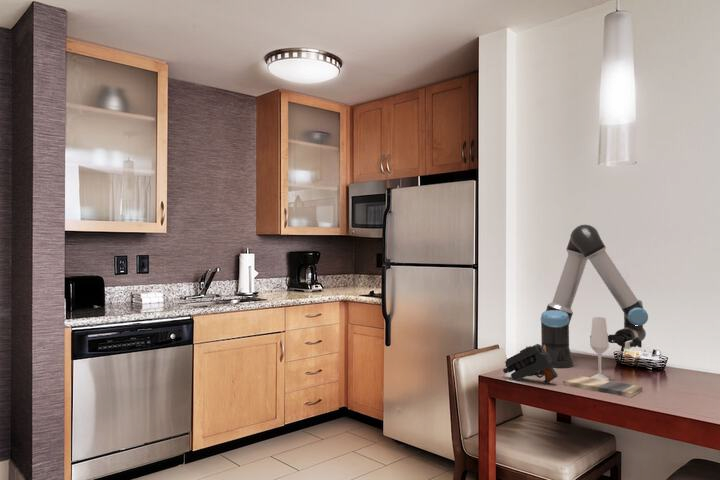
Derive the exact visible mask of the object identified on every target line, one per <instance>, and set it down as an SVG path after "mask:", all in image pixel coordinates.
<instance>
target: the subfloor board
mask: <svg viewBox="0 0 720 480" xmlns="http://www.w3.org/2000/svg"><path fill="white" fill-rule="evenodd" d="M562 385H563V386H568V387H573V388H578V389H583V390H588V391H595V392H598V393H599V392H600V393H605V394H610V395H611V394H612V395H617V396H622V397H626V398H632V397H634V396H636V395H637V394H640V393H641V392H643V386H640V385H636V384H629V383H623V382H618V381H613V380H601V379H595V378H591V377H588V376H583V375H576V374H575V375H574V376H571V377H569V378H566V379H564V380H562Z"/></svg>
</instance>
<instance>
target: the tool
mask: <svg viewBox="0 0 720 480" xmlns="http://www.w3.org/2000/svg"><path fill="white" fill-rule="evenodd" d="M530 346H531V345H529V346H526V347H527V348H526V347H525V348H523V349H521V350H519V352H518V353H516V354H514V355H512V356H510V357H509V358H507V359H506V361H505V368H503V369H502V372H503V373H504V374H507V373H509V374H510V373H511V372H512V373H511V374H510V377H511V378H512V380H513V381H515V380H516V381H518V380H520V379H523V378H526V377H529V376H528V375H531V374H533V373H535V374H536V375H535V376H536V377H537V378H542V377H544V380H542V382H543V383H544V385H547V384H549V383H550V382H551V381H554V379H557V377H558V376H559V375H558V373H557V372H556V370H555V369H554V367H552V366H551V365H553V360H552V358H551V356H550V354H549V353H548V352H545V351H542V350H543V349H542V344H539V343H536V344H535V345H532V346H531V347H530ZM538 371H539V372H541V374H543V373H544V375H538V374H537V372H538Z"/></svg>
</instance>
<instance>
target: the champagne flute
mask: <svg viewBox="0 0 720 480" xmlns="http://www.w3.org/2000/svg"><path fill="white" fill-rule="evenodd" d="M591 321H592V322H591V331H590V335H591V342H590V341H589V345H590V348H591V349H592V351H594V352H595V353H596V354H597V362H598V363H597V367H598V368H597V372H598V373H596V374H594V375H592V376H590V378H595V379H601V380H607V381H610V378H609V377H608V376H606V375H604V374H603V372H602V355H603V354H604V353H605V352H606V351H607V350H608V349H609V347H610V343H609V342H608V336H609V334H608V328H607V327H608V326H607V319H606V317H601V316H600V317H599V316H598V317H597V316H594V317H592V320H591ZM607 334H608V335H607Z"/></svg>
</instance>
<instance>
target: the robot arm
mask: <svg viewBox="0 0 720 480" xmlns="http://www.w3.org/2000/svg"><path fill="white" fill-rule="evenodd" d="M570 233H571V234H570V237H569V241H568V244H567V246H566V252H567V257H566V260H565V263H564V266H563V269H562V272H561V275H560V278H559V281H558V284H557V286H556V289H555V290H556V291H555V293H554V296H553V299H552V301H551V302H549V303H548V304H547V306H546V310H544V311H542V313H541V316H540V321H541V322H540V325H541V326H540V327H541V328H540V329H541V332H540V333H541V336H540V337H541V340H540V341H541V346H542V349H543V346H544V345H545V347H546V352H548V353H549V354H550V356H551V358H552V360H553V365H551V366H552V368H563V369H564V368H571V367H574V366H575V364H574V363H575V362H574V361H575V360H574V358H573V355H572V354H573V353H572V352H571V349H570V323H571V321H572V317H573V313H574V312H573V309H572V305H573V303H574V301H575V297H576V295H577V292H578V288H579V285H580V283H581V280H582V276H583V274H584V271H585V269H586V265H587V262H588V260H589V261H590V263H591V265H592V266H593V268H594V269H595V271H596V272H597V274H598V276H600V279H601V280H602V281H603V283H604V284H605V286H606V288H607V289H608V291H609V292H610V294H611V295H612V297H613V299H614V300H615V301H616V303H617V304H618V306H619V307H620V309H621V310H622V312H623V321H624V322H623V328H621V329H618V330H617V331H615V333H614V334H608V333H607V335H608V343H609V344H617V345H618V346H619V347H623V348H624V350H628V349H632V348H637V347H638V348H640V349H641V348H642V345H643V343H642V341H644V340H645V338H646V336H647V334H646V333H647V332H646V330H645V328H644V325H645V324H646V323H647V322H648V321H649V314H648V312H647V310H645V308H644V307H643V306H644V305H643V301H642V300H641V299H638V298H637V296H636V295H635V294H634V292H633V291H632V289H631V287H630V286H629V284H628V283H627V281H626V280H625V278H624V277H623V276H622V275H623V274H621V273H620V271H619V270H618V268H617V266H616V264H614V261H613V260H612V259H611V257H610V256H609V254H608V253H607V251H606V248H607V247H606V245H605V244H604V242H603V240H602V238H601V237H600V234H599V232H598V230H597V228H595V227H594V226H592V225H590V224H580V225H578V226H576V227H575V228H574V229H573V230H572V231H571V232H570ZM635 325H638V326H635ZM589 337H590V338H589V340H590V341H589V343H590V342H591V334H590V336H589Z"/></svg>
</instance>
